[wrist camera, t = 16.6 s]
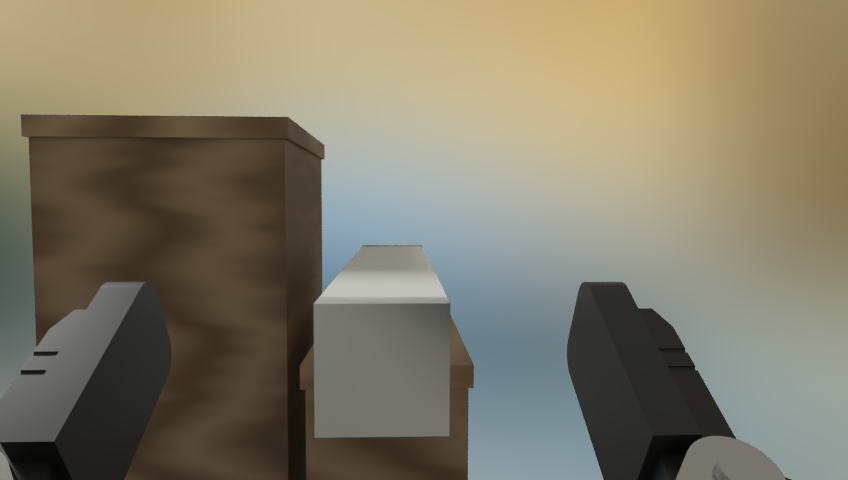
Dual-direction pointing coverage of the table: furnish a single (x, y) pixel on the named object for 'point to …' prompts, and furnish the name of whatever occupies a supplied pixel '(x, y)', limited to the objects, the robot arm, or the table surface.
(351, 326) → the bar
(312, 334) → the wooden plank crate
